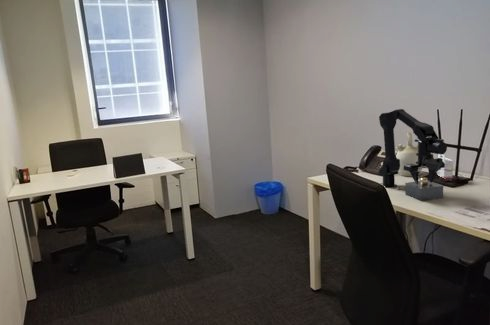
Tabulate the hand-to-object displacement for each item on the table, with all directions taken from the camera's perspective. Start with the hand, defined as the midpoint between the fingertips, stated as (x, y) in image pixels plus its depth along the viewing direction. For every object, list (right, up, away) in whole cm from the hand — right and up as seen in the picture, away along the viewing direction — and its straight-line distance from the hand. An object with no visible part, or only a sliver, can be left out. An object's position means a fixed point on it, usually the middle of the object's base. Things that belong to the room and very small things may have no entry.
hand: (423, 183), depth 190 cm
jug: (+11, +3, +44) cm, 45 cm away
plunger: (0, -5, +1) cm, 5 cm away
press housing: (+1, -6, +1) cm, 6 cm away
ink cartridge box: (+23, 0, +26) cm, 35 cm away
